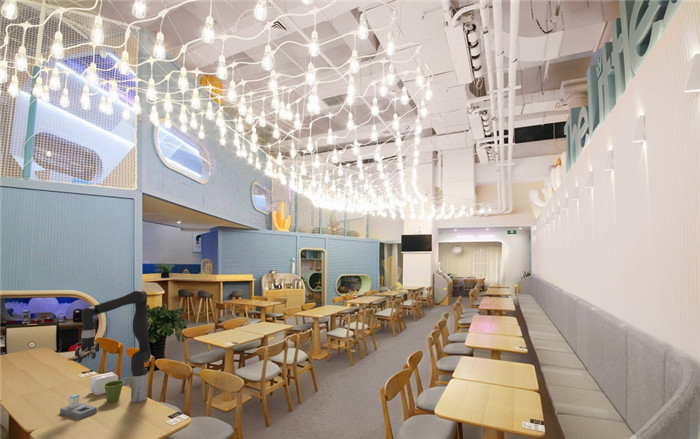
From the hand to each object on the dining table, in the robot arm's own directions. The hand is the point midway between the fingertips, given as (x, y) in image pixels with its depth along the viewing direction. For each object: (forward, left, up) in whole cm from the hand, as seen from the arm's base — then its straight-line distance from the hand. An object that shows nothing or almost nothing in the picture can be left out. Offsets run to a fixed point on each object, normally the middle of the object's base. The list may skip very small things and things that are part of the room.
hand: (86, 360), depth 235 cm
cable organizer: (+9, -18, -28) cm, 35 cm away
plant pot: (-13, -11, -28) cm, 33 cm away
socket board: (-12, +10, -28) cm, 32 cm away
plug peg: (-7, +10, -28) cm, 31 cm away
